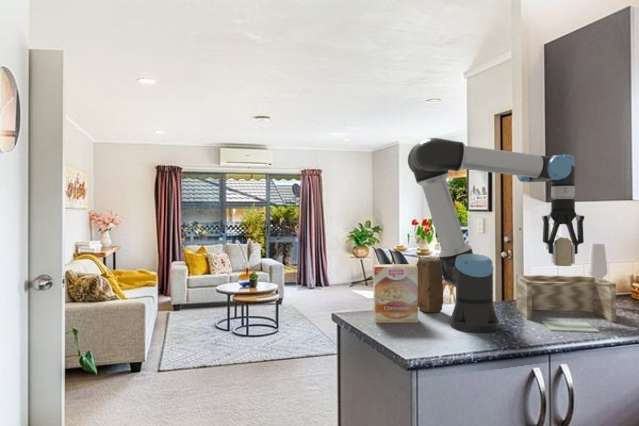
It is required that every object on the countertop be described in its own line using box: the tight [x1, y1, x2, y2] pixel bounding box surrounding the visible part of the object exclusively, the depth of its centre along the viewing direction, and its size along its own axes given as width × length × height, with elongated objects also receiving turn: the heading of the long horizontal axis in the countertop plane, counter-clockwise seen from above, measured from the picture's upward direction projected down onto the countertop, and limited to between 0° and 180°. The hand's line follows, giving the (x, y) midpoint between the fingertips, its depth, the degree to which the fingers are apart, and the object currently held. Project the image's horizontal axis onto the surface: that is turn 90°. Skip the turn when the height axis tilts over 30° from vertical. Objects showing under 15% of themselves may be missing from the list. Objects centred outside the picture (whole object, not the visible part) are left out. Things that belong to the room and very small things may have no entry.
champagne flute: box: [587, 243, 609, 279], centre depth 188 cm, size 7×7×24 cm
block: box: [415, 257, 444, 314], centre depth 180 cm, size 11×8×20 cm
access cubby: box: [515, 274, 617, 323], centre depth 171 cm, size 28×18×13 cm, turn 78°
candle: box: [553, 236, 573, 267], centre depth 170 cm, size 6×6×10 cm
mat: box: [541, 320, 600, 334], centre depth 154 cm, size 14×11×1 cm
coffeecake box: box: [372, 263, 419, 324], centre depth 166 cm, size 15×7×20 cm, turn 88°
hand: (562, 263), depth 170 cm, fingers closed on candle, 5 cm apart
